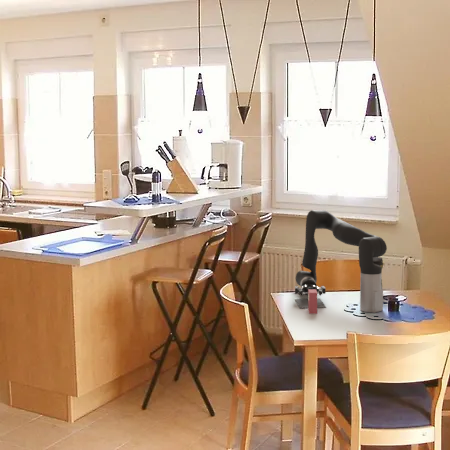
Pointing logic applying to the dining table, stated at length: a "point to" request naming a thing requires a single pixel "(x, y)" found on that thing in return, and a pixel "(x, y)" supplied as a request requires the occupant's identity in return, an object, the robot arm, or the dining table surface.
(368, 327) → the dining table surface
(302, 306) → the mat
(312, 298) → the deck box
